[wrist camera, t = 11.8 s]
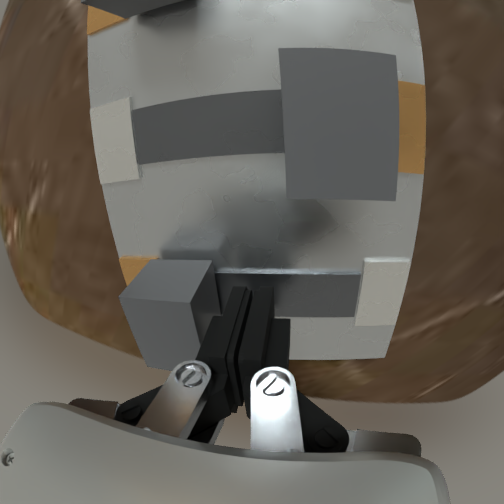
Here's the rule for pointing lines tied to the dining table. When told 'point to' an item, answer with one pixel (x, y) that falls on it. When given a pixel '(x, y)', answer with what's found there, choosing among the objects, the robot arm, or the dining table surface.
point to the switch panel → (253, 160)
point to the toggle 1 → (128, 6)
